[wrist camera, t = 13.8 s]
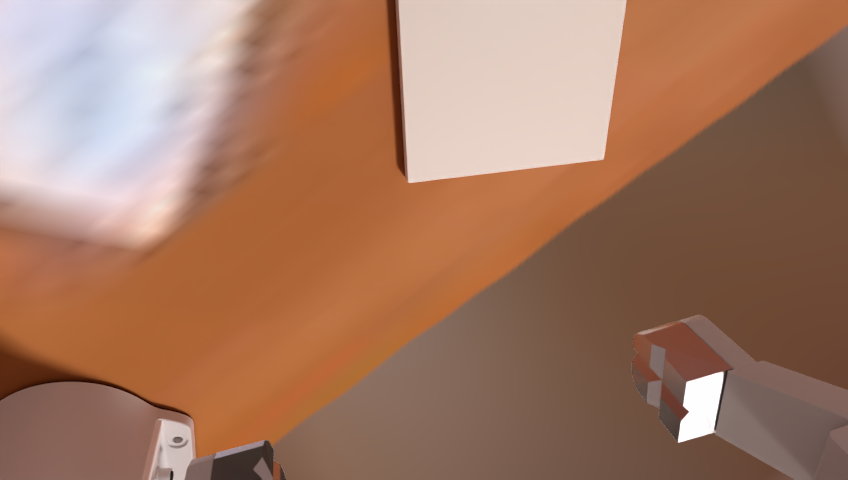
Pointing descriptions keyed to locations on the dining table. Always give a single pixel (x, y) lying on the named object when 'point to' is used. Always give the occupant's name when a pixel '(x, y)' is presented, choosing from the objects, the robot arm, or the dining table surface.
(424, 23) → the wall panel
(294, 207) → the dining table surface
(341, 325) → the dining table surface
